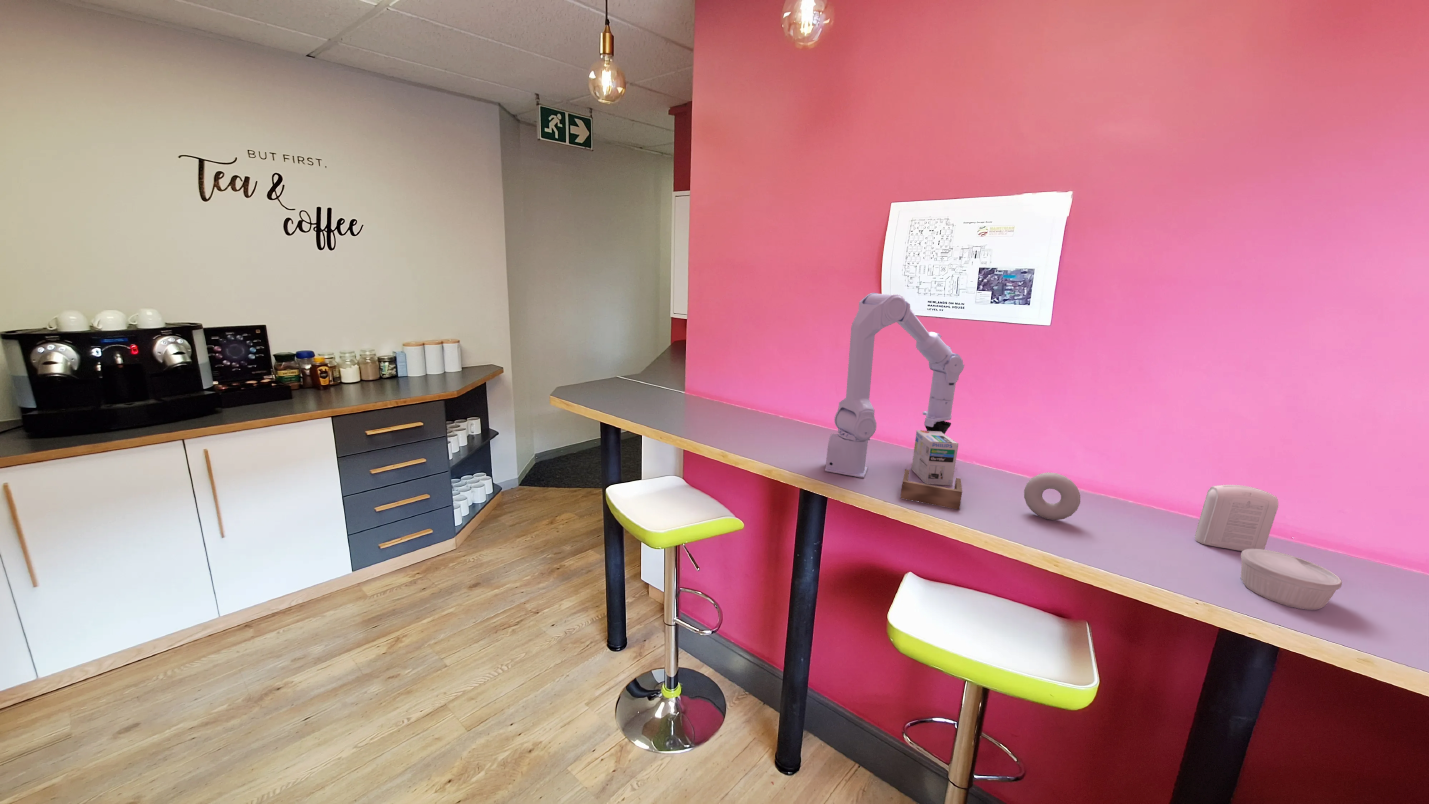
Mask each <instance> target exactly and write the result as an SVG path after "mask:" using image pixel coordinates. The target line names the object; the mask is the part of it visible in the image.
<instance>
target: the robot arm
mask: <svg viewBox="0 0 1429 804" xmlns="http://www.w3.org/2000/svg"><path fill="white" fill-rule="evenodd" d="M895 323H896V324H898V325H899V326H900V327H901V328H903V330H904V331H905V332H906V333H907V334H909V336H911V337H912V338H913V339H914V341H916V343H915V349H916V350H918V351H919V353H921V355H922V356H923V357H924V358H925V359H926V361H928V368H929V369H930V370H931V371H932V378H931V386H930V392H929V399H928V407H927V411H926V410H925V411H922V415H923V416H926V417H925V419H924V423H923V424H924V427H925V428H926V431H939V432H942V433H944V434H945V435H946V432H947V431H948V429H949V428H950V427H951V425H952V423H951V422H949V421H951V420H952V414H953V413H952V411H953V404H954V399H955V398H954V397H955V392H956V391H955V390H956V384H957V382H958V381H959V379H960V378H959V377H960V375H961V373H962V372H963V370H964V368H965V364H964V362H963V359H962V356H961V355H960V354H958V353H954V352H953V351H952V347H950V346H949V345H947V344H946V343H945V342H944V341H943V339H942V335H941V334H940V333H939V332H934V331H928V330H927V329H926V327H925V326H924V324H923V323H922V322H921V320H919V318H918V316H917V315H916V314H915V312H913V310H912V309H911V304H910V303H909V302H908V301H906V299H905V297H904V296H902V295H900V294H895V293H894V294H889V293H888V294H887V293H877V292H871V293H868V294H867V295H866V296H864V297H863V298H862V299H861V300H859V302H858V311H857V312H856V314H855V317H854V318H853V321H852V323H851V327H850V341H849V353H848V364H847V365H848V367H847V378H846V392H845V393H846V395H845V398H844V399H842V400H841V401H839V402H838V409H837V411H836V413H835V416H834V425H835V427H836V428H837V433H831V434H830V436H829V438H828V442H827V443H828V444H827V449H826V450H827V451H826V461H825V468H824V471H825V472H827V473H834V474H839V475H845V476H851V477H856V478H861V479H863V478H865V475H866V473H867V471H868V466H866V460H867V451H868V446H869V445H868V444H869V441H870V439H871V438H872V437H873V436H874V435H875V433H876V431H877V421H876V419H875V418H876V417H875V409H874V406H873V404H872V403H871V400H870V397H871V396H870V393H871V384H872V373H873V371H872V370H873V360H874V347H875V337H876V335H877V334H878V333H879V332H880V331H882V329H883V328H886V327H889V326H891V325H893V324H895Z"/></svg>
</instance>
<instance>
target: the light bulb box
mask: <svg viewBox="0 0 1429 804" xmlns="http://www.w3.org/2000/svg"><path fill="white" fill-rule="evenodd" d="M915 432H916V433H915V439H914V448H913V456H912V462H911V470H910V471H912V472H914V474H915V475H916V476H917V477H918V479H920V480H921V481H922V482H923V484H928V485H935V486H938V485H939V486H940V485H941V486H953V482H954V477H955V470H956V463H957V462H956V461H957V458H958V457H957V456H958V450H959V445H960V444H959V442H957V441H955V440H954V439H952V438H951V437H949V436H948V435H947V434H946V433H945V434H944V433H942V432H939V431H927V430H922V429H916V430H915Z"/></svg>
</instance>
